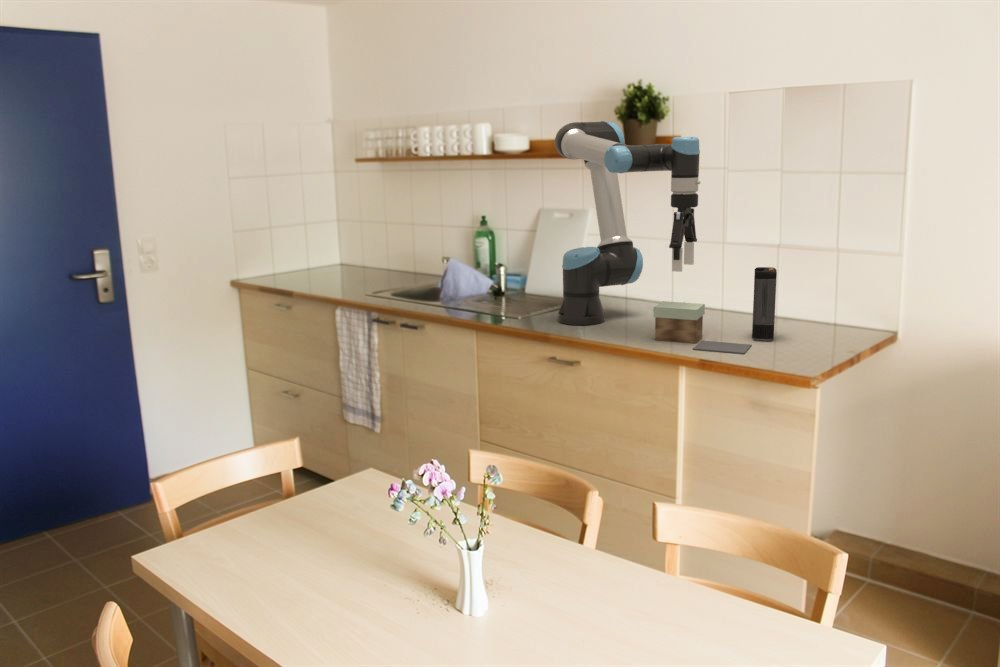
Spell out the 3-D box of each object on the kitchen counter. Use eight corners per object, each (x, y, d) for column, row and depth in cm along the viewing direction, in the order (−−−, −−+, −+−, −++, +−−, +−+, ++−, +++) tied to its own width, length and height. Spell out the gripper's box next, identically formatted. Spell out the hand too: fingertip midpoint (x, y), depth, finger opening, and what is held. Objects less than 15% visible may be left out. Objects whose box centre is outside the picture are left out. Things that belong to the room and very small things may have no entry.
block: (653, 322, 244) (653, 306, 243) (662, 316, 252) (662, 301, 251) (696, 325, 238) (696, 309, 237) (704, 319, 246) (704, 303, 245)
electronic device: (752, 333, 250) (754, 266, 246) (773, 334, 248) (776, 267, 244) (751, 341, 241) (754, 271, 237) (773, 341, 240) (776, 272, 235)
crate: (655, 340, 246) (655, 316, 244) (662, 334, 252) (662, 311, 250) (696, 343, 240) (696, 319, 239) (702, 338, 247) (702, 314, 245)
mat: (692, 349, 234) (692, 348, 233) (701, 341, 242) (701, 340, 242) (744, 354, 227) (744, 352, 227) (751, 345, 236) (751, 344, 236)
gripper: (687, 196, 225) (685, 275, 230) (707, 190, 247) (705, 262, 252) (659, 196, 228) (658, 273, 233) (682, 189, 250) (680, 261, 255)
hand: (682, 267), depth 242 cm, fingers open, 13 cm apart
